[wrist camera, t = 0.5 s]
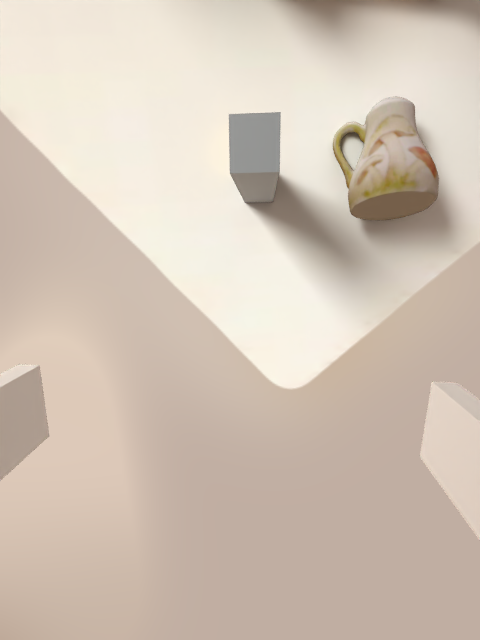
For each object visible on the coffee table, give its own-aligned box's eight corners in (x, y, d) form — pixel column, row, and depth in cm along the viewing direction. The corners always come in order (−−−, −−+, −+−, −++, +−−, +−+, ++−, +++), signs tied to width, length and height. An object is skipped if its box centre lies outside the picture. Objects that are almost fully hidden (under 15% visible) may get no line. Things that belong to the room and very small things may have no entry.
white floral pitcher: (419, 96, 30) (497, 119, 23) (379, 201, 37) (430, 245, 29) (344, 87, 29) (401, 107, 22) (315, 197, 35) (352, 242, 28)
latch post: (235, 135, 32) (210, 47, 17) (273, 133, 32) (281, 43, 17) (236, 202, 33) (214, 173, 19) (272, 201, 33) (279, 172, 19)
